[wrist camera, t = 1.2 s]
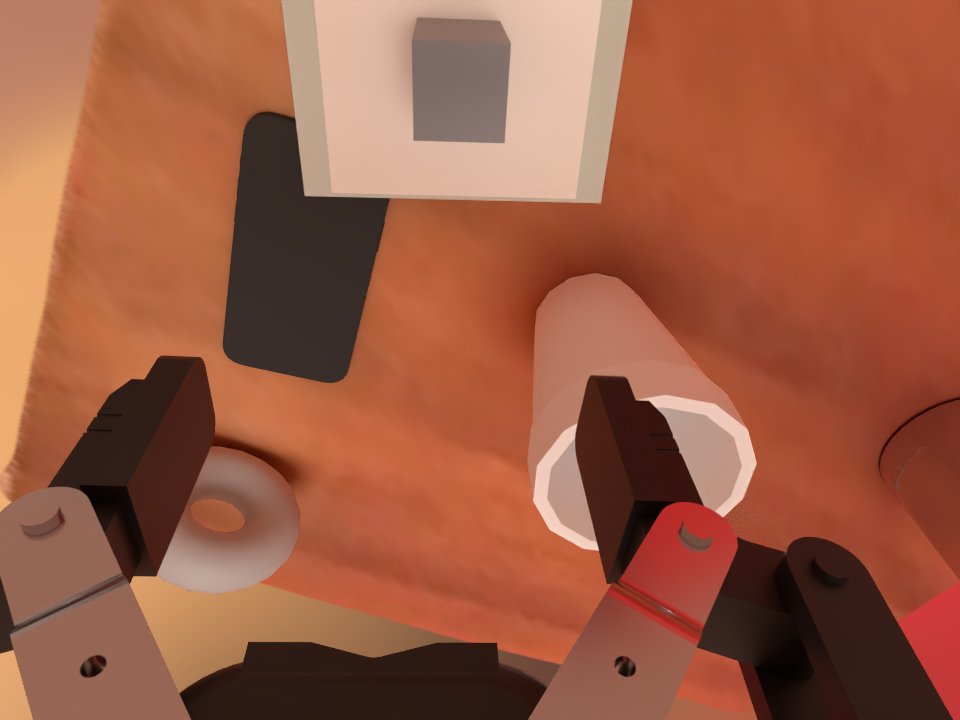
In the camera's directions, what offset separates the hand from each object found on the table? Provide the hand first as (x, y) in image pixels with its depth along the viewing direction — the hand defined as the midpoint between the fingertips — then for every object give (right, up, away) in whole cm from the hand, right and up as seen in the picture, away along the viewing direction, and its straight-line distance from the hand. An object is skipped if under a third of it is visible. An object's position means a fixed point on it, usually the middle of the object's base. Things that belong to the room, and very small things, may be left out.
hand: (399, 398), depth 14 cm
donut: (-14, -6, +29) cm, 33 cm away
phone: (-8, +6, +22) cm, 24 cm away
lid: (+1, +14, +15) cm, 21 cm away
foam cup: (+8, +3, +24) cm, 26 cm away
